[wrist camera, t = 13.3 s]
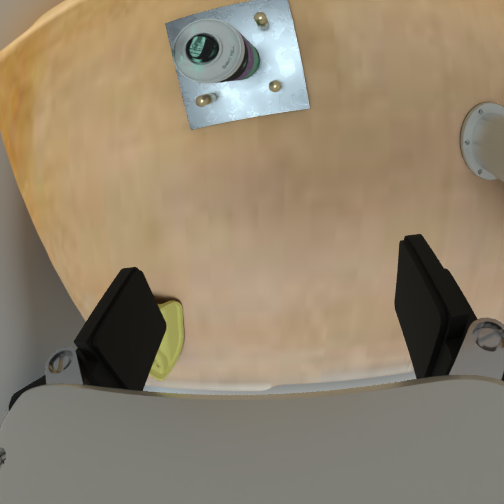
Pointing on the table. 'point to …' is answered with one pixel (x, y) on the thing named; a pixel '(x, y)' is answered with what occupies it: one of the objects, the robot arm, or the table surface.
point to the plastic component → (169, 340)
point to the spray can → (214, 52)
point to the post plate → (263, 80)
